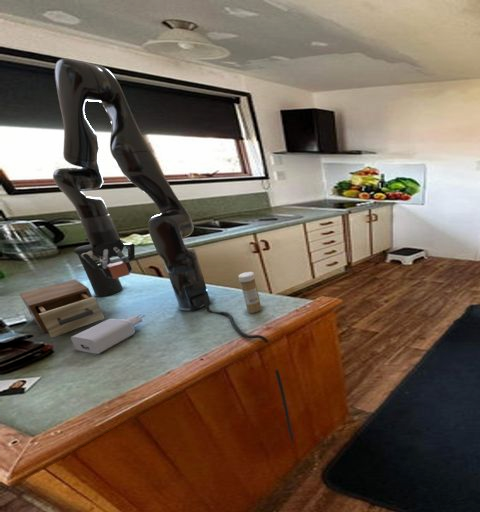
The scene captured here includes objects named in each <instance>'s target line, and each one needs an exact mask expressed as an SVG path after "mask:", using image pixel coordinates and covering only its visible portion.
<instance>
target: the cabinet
mask: <svg viewBox="0 0 480 512" xmlns="http://www.w3.org/2000/svg"><path fill="white" fill-rule="evenodd" d="M79 293H84V294H86V295H87V296H88V297H90V298H91V297H93V295H92V293H91V290H90V288H89V287H87V286H86V285H85V284H84V283H82V282H80V281H79V280H77V279H70V280H66V281H63V282H59V283H55V284H51V285H48V286H44V287H40V288H36V289H33V290H29V291H25V292H21V293H19V296H20V297H21V300H22V302H23V303H24V304H25V306H26V308H27V310H28V311H29V314H30V316H31V318H32V319H33V320H34V322H35V324H36V325H37V326H38V327H39V329H40V330H41V331H42V333H43V334H46V333H49V332H48V330H47V328H46V327H45V325H44V323H43V321H42V319H41V318H40V316H39V311H38V309H37V307H36V306H39V305H43V304H46V303H49V302H53V301H56V300H59V299H63V298H66V297H69V296H73V295H76V294H79Z"/></svg>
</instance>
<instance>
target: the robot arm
mask: <svg viewBox="0 0 480 512" xmlns="http://www.w3.org/2000/svg"><path fill="white" fill-rule="evenodd" d="M54 80H55V85H56V87H55V88H56V92H57V98H58V103H59V108H60V112H61V118H62V123H63V154H62V155H63V159H64V160H65V161H66V163H69V164H70V165H72V166H76V167H64V168H63V167H62V168H58V169H55V170H54V172H53V174H52V179H53V181H54V183H55V186H56V187H57V188H59V190H60V191H61V192H62V193H63V195H65V196H66V198H67V199H68V200H69V201H70V202H71V204H72V205H73V207H74V208H75V211H76V213H77V216H78V218H79V220H80V224H81V226H82V230H83V232H84V234H85V236H86V238H87V240H88V243H89V245H91V251H89V252H87V253H82V254H81V256H82V257H83V258H84V259H85V260H86V261H87V262H88V263H89V264H90V265H91V266H92V267H93V268H95V269H102V271H103V273H104V275H105V276H106V277H108V278H112V275H111V273H110V271H109V268H107V262H108V258H110V259H111V258H115V257H117V258H119V259H120V260H121V261H122V262H124V263H126V266H127V268H128V270H129V273H130V274H131V272H132V270H133V267H132V266H131V263H130V262H132V261H133V260H135V258H136V255H135V254H136V253H135V252H136V250H135V249H136V247H135V244H134V242H133V243H132V242H128V243H124V242H123V241H122V240H121V237H120V236H119V233H118V230H117V228H116V225H115V223H114V220H113V218H112V217H111V216H110V214H109V211H108V208H107V205H106V204H105V202H104V199H102V198H101V197H95V196H87V195H86V194H84V192H82V191H90V190H91V191H93V190H98V189H100V188H101V187H102V185H103V183H104V179H103V176H102V172H101V170H100V165H99V162H98V159H99V151H100V141H99V139H98V136H97V134H96V132H95V130H94V129H93V128H92V126H91V125H90V123H89V121H88V120H87V118H86V115H85V105H86V102H87V101H88V102H99V103H101V104H102V106H103V107H104V109H105V111H106V113H107V116H108V117H109V120H110V123H111V132H110V139H109V150H110V153H111V154H110V155H111V157H112V158H113V160H114V161H115V162H116V164H117V166H118V168H119V170H120V171H121V173H122V175H124V177H126V179H127V180H128V181H129V182H131V183H132V185H134V186H135V187H137V188H138V189H139V190H141V191H142V192H143V193H144V194H146V195H147V196H148V197H149V198H150V199H151V200H152V202H153V203H154V204H155V206H156V207H157V209H158V211H159V213H160V214H155V215H154V216H152V217H151V218H150V219H149V220H148V223H147V231H148V233H149V236H150V238H151V241H152V243H153V246H154V248H155V250H156V252H157V255H158V256H159V257H160V258H161V259H162V261H163V264H164V267H165V270H166V273H167V275H168V279H169V281H170V285H171V287H172V290H173V292H174V296H175V299H176V302H177V305H178V308H179V310H180V311H182V312H189V311H190V312H195V311H197V310H199V309H201V308H203V307H205V309H206V311H207V312H208V313H209V314H216V315H225V316H227V317H228V318H229V320H230V323H231V325H232V326H233V328H234V329H235V331H236V333H238V334H239V335H240V336H242V337H244V338H246V339H260V340H262V341H263V342H265V343H269V342H270V340H269V339H267V338H266V337H265V336H264V335H261V334H247V333H245V332H244V331H242V330H241V328H240V327H239V326H238V325H237V324H236V322H235V320H234V317H233V316H232V314H231V313H230V312H228V311H213V310H211V309H210V305H211V297H210V294H209V290H208V288H207V285H206V281H205V278H204V274H203V272H202V271H203V270H202V268H201V264H200V260H199V257H198V253H197V251H196V249H194V248H193V247H187V246H186V244H185V242H184V240H183V239H184V238H187V237H189V236H190V235H192V234H193V232H194V226H195V225H194V221H193V220H192V218H191V216H190V214H189V213H188V211H187V210H186V208H185V206H184V205H183V204H182V203H181V201H180V200H179V198H178V197H177V195H176V193H175V191H174V190H173V188H172V186H171V185H170V183H169V181H168V179H167V177H166V176H165V174H164V172H163V170H162V168H161V166H160V165H159V163H158V161H157V159H156V157H155V155H154V153H153V152H152V150H151V148H150V147H149V144H148V143H147V141H146V139H145V137H144V135H143V133H142V132H141V130H140V128H139V126H138V124H137V121H136V119H135V117H134V115H133V113H132V111H131V108H130V106H129V104H128V101H127V99H126V96H125V94H124V92H123V89H122V88H121V85H120V83H119V82H118V80H117V78H116V77H115V76H114V74H113V73H112V71H110V70H109V69H108V68H106V67H105V66H102V65H99V64H95V63H91V62H86V61H81V60H77V59H72V58H60V59H58V60H57V61H56V63H55V66H54ZM124 248H125V249H126V250H127V256H126V255H125V253H123V250H124ZM93 253H94V254H96V255H98V256H100V265H97V264H96V263H95V261H94V260H93V259H92V258H93V255H92V254H93ZM275 376H276V378H277V383H278V387H279V390H280V395H281V400H282V404H283V410H284V414H285V419H286V424H287V429H288V434H289V438H290V441H291V442H294V441H295V439H294V435H293V430H292V425H291V420H290V415H289V409H288V406H287V405H288V404H287V400H286V395H285V390H284V386H283V383H282V379H281V374H280V371H279V369H276V370H275Z"/></svg>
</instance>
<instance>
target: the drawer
mask: <svg viewBox="0 0 480 512" xmlns="http://www.w3.org/2000/svg"><path fill="white" fill-rule="evenodd" d="M36 307H37V309H38V311H39V316H40V318H41V319H42V321H43V323H44V325H45V327H46V328H47V330H48V332H47V333H48V334H49V335H50V338H56V337H58V336H60V335H63V334H67V333H68V332H72V331H74V330H77V329H80V328H83V327H85V326H88V325H90V324H94V323H96V322H99V321H101V320H104V319H105V316H104V314H103V311H102V309H101V307H100V305H99V303H98V300H97V299H96V296H92V297H91V298H90V297H88V296H87V295H86V294H84V293H79V294H76V295H73V296H69V297H66V298H63V299H59V300H56V301H53V302H49V303H46V304H43V305H39V306H36Z"/></svg>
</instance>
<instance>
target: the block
mask: <svg viewBox="0 0 480 512" xmlns="http://www.w3.org/2000/svg"><path fill="white" fill-rule="evenodd" d="M107 268H109V271H110V273H111V275H112V278H113V279H116V278H123V277H125V276H129V275H131V272H130V273H129V270H128V268H127V266H126V263H124V262H123V261H122V260H121V261H116V262H112V264H108V265H107Z"/></svg>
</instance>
